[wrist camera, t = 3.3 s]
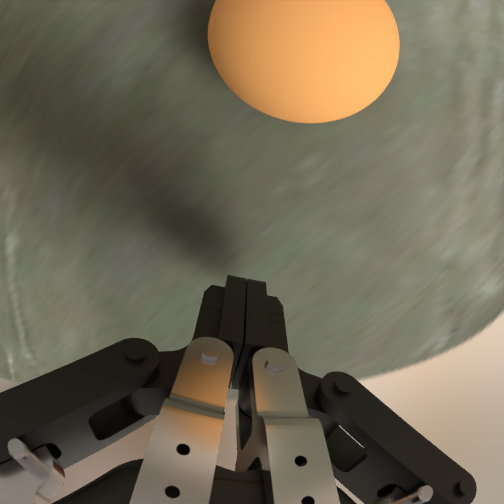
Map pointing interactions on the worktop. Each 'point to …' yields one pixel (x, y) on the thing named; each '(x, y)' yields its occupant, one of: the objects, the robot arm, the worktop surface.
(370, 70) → the egg
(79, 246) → the worktop surface
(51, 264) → the worktop surface
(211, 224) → the worktop surface
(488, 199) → the worktop surface
